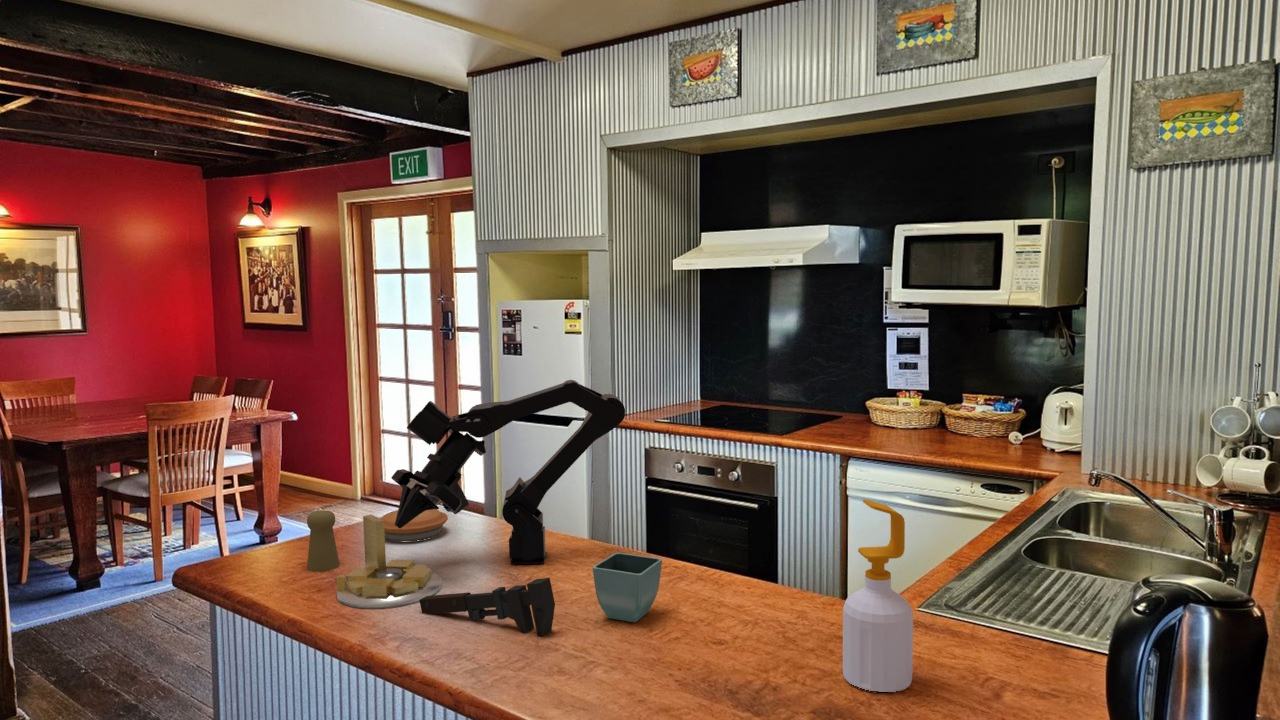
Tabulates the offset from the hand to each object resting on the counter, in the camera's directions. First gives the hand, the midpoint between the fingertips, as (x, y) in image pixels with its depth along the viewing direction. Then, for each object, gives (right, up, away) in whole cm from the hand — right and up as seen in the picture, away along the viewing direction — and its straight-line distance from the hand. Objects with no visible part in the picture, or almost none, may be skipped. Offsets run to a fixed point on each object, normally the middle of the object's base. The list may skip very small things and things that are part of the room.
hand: (397, 526), depth 161 cm
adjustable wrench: (+20, -12, -21) cm, 31 cm away
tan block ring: (0, -9, -5) cm, 10 cm away
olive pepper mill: (-17, -10, +9) cm, 21 cm away
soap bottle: (+77, -13, -43) cm, 89 cm away
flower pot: (+43, -11, -19) cm, 49 cm away
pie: (-5, -8, +30) cm, 31 cm away
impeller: (0, -10, -5) cm, 12 cm away
